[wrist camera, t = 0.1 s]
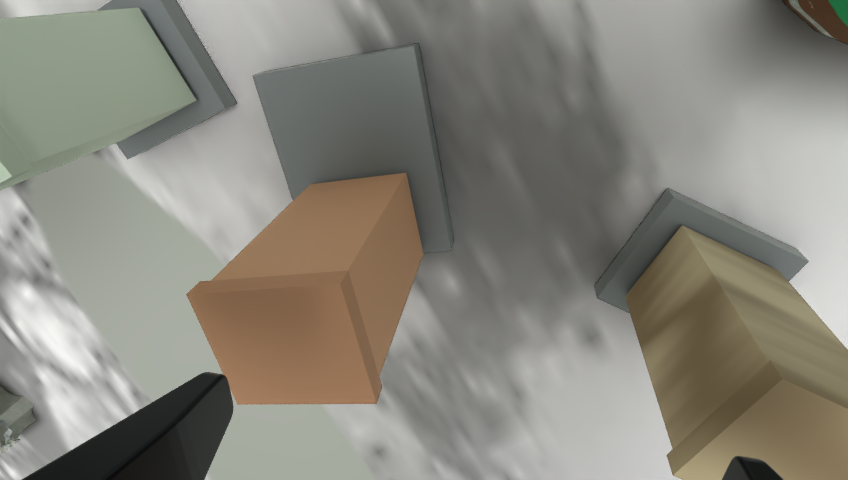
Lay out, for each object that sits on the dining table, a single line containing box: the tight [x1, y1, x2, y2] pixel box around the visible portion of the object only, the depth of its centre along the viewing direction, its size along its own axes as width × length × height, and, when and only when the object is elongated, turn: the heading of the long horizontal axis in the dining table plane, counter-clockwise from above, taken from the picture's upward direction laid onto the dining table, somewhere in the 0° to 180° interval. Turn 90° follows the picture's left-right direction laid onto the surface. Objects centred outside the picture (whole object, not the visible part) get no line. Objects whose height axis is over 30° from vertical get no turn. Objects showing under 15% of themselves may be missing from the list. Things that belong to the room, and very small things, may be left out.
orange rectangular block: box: [187, 173, 423, 404], centre depth 19 cm, size 4×5×9 cm
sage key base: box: [97, 0, 237, 159], centre depth 22 cm, size 6×6×1 cm
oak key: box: [625, 225, 848, 480], centre depth 17 cm, size 4×5×9 cm
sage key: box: [0, 8, 197, 190], centre depth 18 cm, size 4×5×9 cm
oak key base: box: [594, 188, 809, 313], centre depth 22 cm, size 6×6×1 cm
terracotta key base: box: [253, 43, 454, 253], centre depth 22 cm, size 9×7×1 cm
